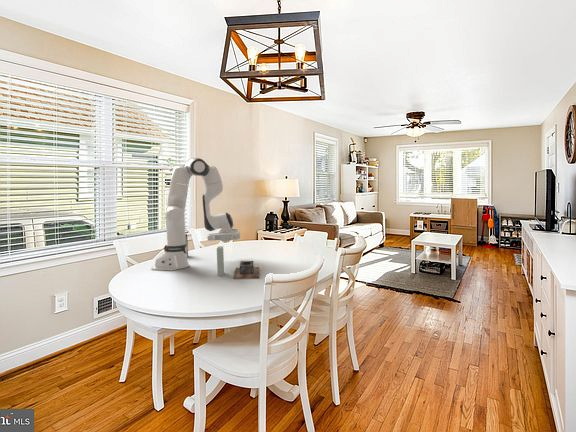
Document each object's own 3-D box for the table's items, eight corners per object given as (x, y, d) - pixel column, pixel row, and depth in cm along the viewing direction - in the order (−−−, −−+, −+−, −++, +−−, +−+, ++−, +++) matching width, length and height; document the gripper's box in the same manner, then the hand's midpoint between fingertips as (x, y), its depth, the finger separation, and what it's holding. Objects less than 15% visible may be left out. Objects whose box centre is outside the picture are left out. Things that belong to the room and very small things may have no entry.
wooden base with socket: (233, 279, 184) (233, 268, 183) (236, 269, 203) (235, 259, 203) (258, 278, 185) (258, 267, 184) (259, 268, 204) (258, 258, 204)
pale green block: (217, 276, 190) (216, 248, 188) (218, 273, 196) (218, 246, 194) (222, 275, 190) (222, 248, 188) (224, 273, 196) (223, 246, 194)
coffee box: (188, 255, 243) (187, 234, 241) (182, 257, 237) (181, 235, 235) (179, 254, 246) (178, 233, 245) (172, 256, 241) (171, 234, 239)
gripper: (208, 230, 216) (205, 234, 202) (240, 229, 217) (239, 232, 203) (209, 240, 216) (205, 244, 203) (241, 238, 218) (239, 242, 204)
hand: (222, 238), depth 203 cm, fingers open, 8 cm apart
